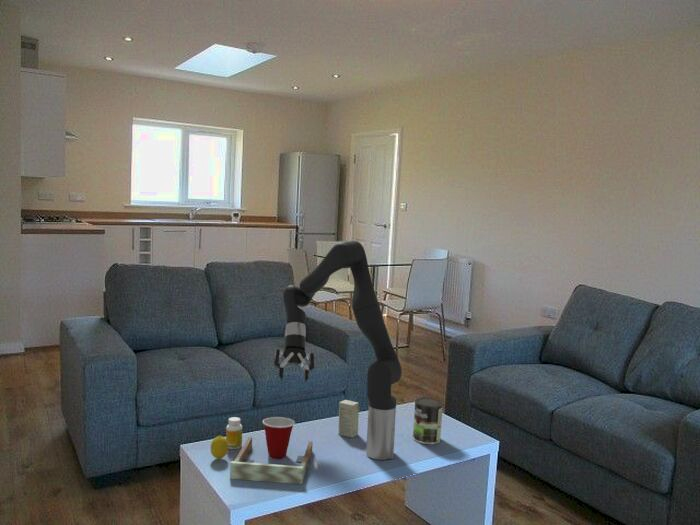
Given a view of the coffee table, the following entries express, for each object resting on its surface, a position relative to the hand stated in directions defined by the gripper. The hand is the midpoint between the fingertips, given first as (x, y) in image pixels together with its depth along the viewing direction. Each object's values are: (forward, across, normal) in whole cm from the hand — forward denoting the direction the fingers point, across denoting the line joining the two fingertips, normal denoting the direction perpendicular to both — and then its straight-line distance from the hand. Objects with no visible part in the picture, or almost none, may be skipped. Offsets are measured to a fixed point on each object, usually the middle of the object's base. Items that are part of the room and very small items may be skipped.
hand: (293, 380), depth 213 cm
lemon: (+28, -23, +2) cm, 36 cm away
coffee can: (+17, +51, +3) cm, 54 cm away
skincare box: (+15, +24, +12) cm, 31 cm away
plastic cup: (+26, -4, +1) cm, 26 cm away
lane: (+29, -6, -4) cm, 30 cm away
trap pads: (+28, -6, -3) cm, 29 cm away
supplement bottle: (+22, -18, +10) cm, 30 cm away
